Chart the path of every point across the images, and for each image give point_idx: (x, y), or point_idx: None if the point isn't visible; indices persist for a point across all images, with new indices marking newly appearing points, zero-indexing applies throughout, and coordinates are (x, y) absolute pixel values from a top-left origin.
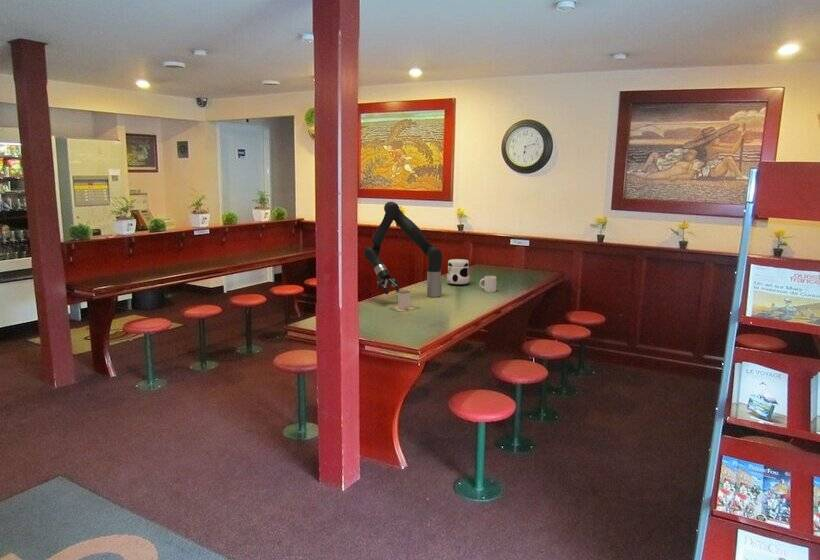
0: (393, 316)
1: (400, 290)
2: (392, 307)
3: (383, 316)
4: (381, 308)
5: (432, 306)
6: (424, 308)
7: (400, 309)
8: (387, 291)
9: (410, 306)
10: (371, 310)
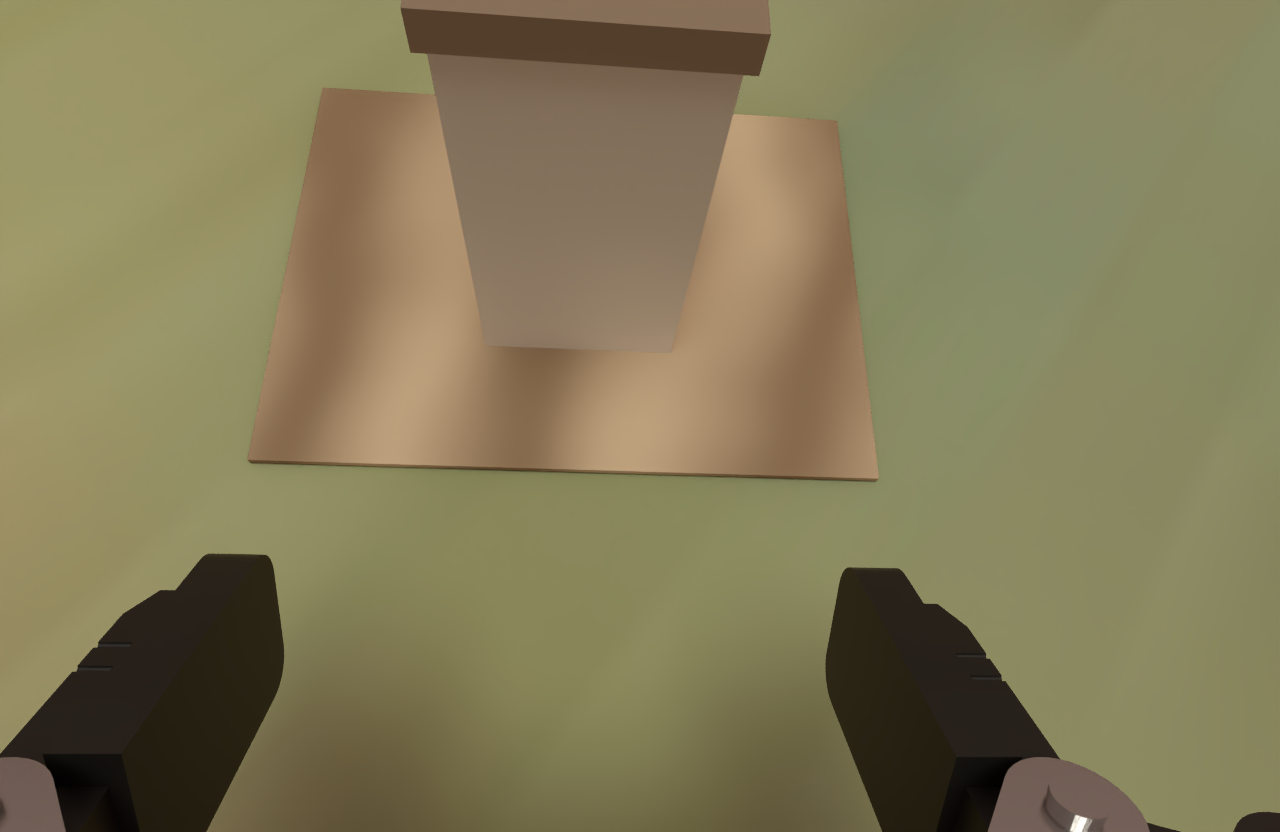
0: (1068, 15)
1: (628, 11)
2: (748, 462)
3: (1215, 104)
4: (993, 587)
5: (27, 38)
6: (279, 34)
7: (716, 227)
8: (910, 604)
9: (369, 275)
10: (1276, 581)
